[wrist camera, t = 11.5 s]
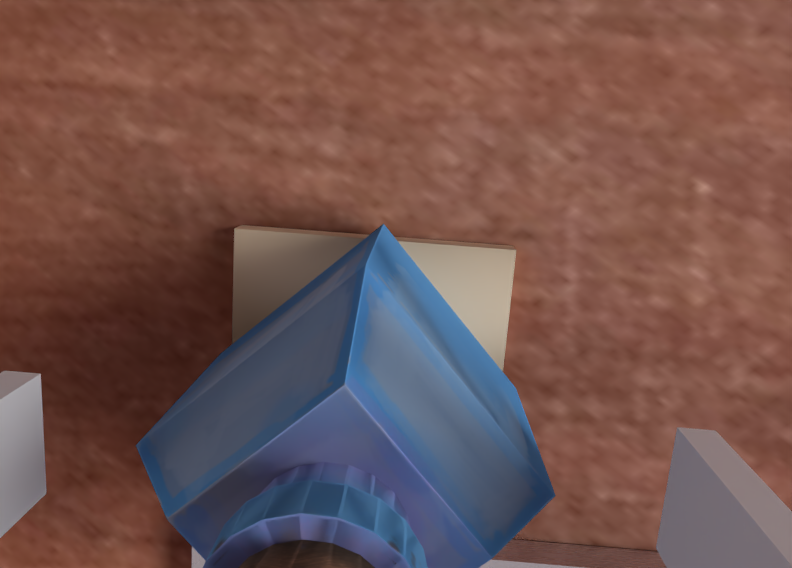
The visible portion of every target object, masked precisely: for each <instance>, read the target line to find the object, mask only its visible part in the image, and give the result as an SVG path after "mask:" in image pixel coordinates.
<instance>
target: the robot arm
mask: <svg viewBox="0 0 792 568" xmlns="http://www.w3.org/2000/svg"><path fill="white" fill-rule="evenodd" d="M45 494H46V473H45V452H44V431H43V411H42V390H41V374H39V373H27V372H15V371H3V372H1V373H0V538H1V537H2V536H3V535H4V534H5V533H6V532H7V531H8V530H9V529H10V528H11V527H12V526H13V525H14V524H15V523H16V522H17V521H18V520H19V519H21V518H22V517H23V516H24V515H25V514H26V513H27V512H28V511H29V510H30V509H31V508H32V507H33V506H34V505H35V504H36V503H37V502H38V501H39V500H40V499H41V498H42V497H43V496H44V495H45ZM656 549H657V551H658V552H659V554H660V556H661V558H662V560H663V562H664V564H665V565H666V567H667V568H792V511H791V510H790V509H789V508H788V507H787V506H786V505H785V504H784V503H783V502H782V501H781V500H780V499H779V497H778V496H777V495H776V494H775V493H774V492H773V491H772V490H771V489H770V488H769V487H768V486H767V485H766V484H765V483H764V482H763V480H762V479H761V478H760V477H759V476H758V475H757V474H756V473H755V472H754V471H753V470H752V469H751V468H750V467H749V466H748V465H747V463H746V462H745V461H744V460H743V459H742V458H741V457H740V456H739V455H738V454H737V453H736V452H735V451H734V450H733V449H732V448H731V447H730V445H729V444H728V443H727V442H726V441H725V440H724V439H723V438H722V437H721V436H720V435H719V434H718V433H717V432H716V431H714V430H702V429H690V428H679V427H677V432H676V438H675V443H674V449H673V455H672V460H671V466H670V472H669V477H668V483H667V489H666V494H665V500H664V506H663V511H662V517H661V523H660V528H659V534H658V540H657V545H656Z"/></svg>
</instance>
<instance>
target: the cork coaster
mask: <svg viewBox="0 0 792 568" xmlns="http://www.w3.org/2000/svg"><path fill="white" fill-rule="evenodd" d="M368 236H369V235H366V234H353V233H340V232H327V231H314V230H301V229H288V228H275V227H262V226H248V225H240V226H238V227H236V228H234V267H233V313H232V344H233V343H234V342H236V341H237V340H238V339H239V338H241V337H242V336H243V335H245V334H246V333H247V332H248V331H250V330H251V329H252V328H253V327H255V326H256V325H257V324H258V323H260V322H261V321H262V320H263V319H265V318H266V317H267V316H268V315H270V314H271V313H272V312H273V311H275V310H276V309H277V308H278V307H280V306H281V305H282V304H283V303H285V302H286V301H287V300H288V299H290V298H291V297H292V296H293V295H295V294H296V293H297V292H299V291H300V290H301V289H302V288H304V287H305V286H306V285H307V284H309V283H310V282H311V281H312V280H314V279H315V278H316V277H317V276H319V275H320V274H321V273H322V272H324V271H325V270H326V269H327V268H329V267H330V266H331V265H332V264H334V263H335V262H336V261H337V260H339V259H340V258H341V257H342V256H344V255H345V254H346V253H347V252H349V251H350V250H351V249H352V248H354V247H355V246H356V245H358V244H359V243H360V242H361V241H363V240H364V239H365V238H366V237H368ZM395 239H396V240H397V241H398V242H399V244H400V245H401V246H402V247H403V249H404V250H405V251H406V252H407V254H408V255H409V256H410V257H411V259H412V260H413V261H414V262H415V264H416V265H417V266H418V267H419V268H420V270H421V271H422V272H423V273H424V275H425V276H426V277H427V278H428V280H429V281H430V282H431V283H432V285H433V286H434V287H435V288H436V290H437V291H438V292H439V293H440V295H441V296H442V297H443V298H444V300H445V301H446V302H447V303H448V305H449V306H450V307H451V308H452V310H453V311H454V312H455V313H456V315H457V316H458V317H459V318H460V319H461V321H462V322H463V323H464V324H465V326H466V327H467V328H468V329H469V331H470V332H471V333H472V334H473V336H474V337H475V338H476V339H477V341H478V342H479V343H480V344H481V346H482V347H483V348H484V349H485V351H486V352H487V353H488V354H489V356H490V357H491V358H492V359H493V361H494V362H495V363H496V364H497V366H498V367H499V368H500V369H501V370H502V372H503V366H504V357H505V348H506V339H507V329H508V320H509V311H510V302H511V293H512V284H513V275H514V266H515V257H516V249H515V248H514V247H513V246H510V245H497V244H484V243H471V242H458V241H445V240H432V239H419V238H406V237H395Z"/></svg>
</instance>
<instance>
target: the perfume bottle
mask: <svg viewBox="0 0 792 568" xmlns="http://www.w3.org/2000/svg"><path fill="white" fill-rule="evenodd" d="M136 447H137V449H138V452H139V454H140V456H141V459H142V461H143V464H144V466H145V468H146V471H147V473H148V475H149V478H150V480H151V483H152V485H153V487H154V490H155V492H156V494H157V497H158V499H159V502H160V504H161V506H162V509H163V511H164V513H165V516H166V518H167V520H168V521H169V522H170V523H171V524H172V525H173V526H174V527H175V529H176V530H177V531H178V532H179V533H180V534H181V535H182V536H183V537H184V538H185V539H186V540H187V541H188V542H189V543H190V545H191V546H192V547H193V548H194V549H195V550H196V551H197V552H198V553H199V554H200V555H201V556H202V557H203V558H204V560H205V564H204V566H203V568H479V567H481V566H482V565H483V564H485V563H486V562H488V561H489V560H491V559H492V558H493V557H494V556H495V555H496V554H497V553H498V552H499V551H500V550H501V549H502V548H503V547H504V546H505V545H506V544H507V543H508V542H509V541H510V540H511V539H512V538H513V537H514V536H515V535H516V534H517V533H518V532H519V531H520V530H521V529H522V528H523V527H524V526H525V525H526V524H527V523H528V522H529V521H530V520H531V519H532V518H533V517H534V516H535V515H537V514H538V513H539V512H540V511H541V510H542V509H543V508H544V507H545V506H546V505H547V504H548V503H549V502H550V501H551V500H552V499H553V498H554V497H555V493H554V490H553V487H552V485H551V482H550V479H549V477H548V474H547V471H546V469H545V466H544V463H543V460H542V458H541V455H540V452H539V450H538V447H537V444H536V442H535V439H534V436H533V433H532V431H531V428H530V425H529V423H528V420H527V417H526V415H525V412H524V409H523V406H522V404H521V401H520V398H519V396H518V393H517V390H516V388H515V387H514V385H513V384H512V383H511V382H510V380H509V379H508V378H507V377H506V375H505V374H504V373H503V372H502V370H501V369H500V368H499V367H498V366H497V364H496V363H495V362H494V361H493V359H492V358H491V357H490V356H489V354H488V353H487V352H486V351H485V349H484V348H483V347H482V346H481V344H480V343H479V342H478V341H477V339H476V338H475V337H474V336H473V334H472V333H471V332H470V331H469V329H468V328H467V327H466V326H465V324H464V323H463V322H462V321H461V319H460V318H459V317H458V316H457V315H456V313H455V312H454V311H453V310H452V308H451V307H450V306H449V305H448V303H447V302H446V301H445V300H444V298H443V297H442V296H441V295H440V293H439V292H438V291H437V290H436V288H435V287H434V286H433V285H432V283H431V282H430V281H429V280H428V278H427V277H426V276H425V275H424V273H423V272H422V271H421V270H420V268H419V267H418V266H417V265H416V264H415V262H414V261H413V260H412V259H411V257H410V256H409V255H408V254H407V252H406V251H405V250H404V249H403V247H402V246H401V245H400V244H399V242H398V241H397V240H396V239H395V237H394V236H393V235H392V234H391V232H390V231H389V230H388V229H387V227H386V226H385V225H384V224H383V225H381V226H380V227H379V228H378V229H376V230H375V231H374V232H373V233H371V234H370V235H369V236H368V237H366V238H365V239H364V240H363V241H361V242H360V243H359V244H358V245H356V246H355V247H354V248H352V249H351V250H350V251H349V252H347V253H346V254H345V255H344V256H342V257H341V258H340V259H339V260H337V261H336V262H335V263H334V264H332V265H331V266H330V267H329V268H327V269H326V270H325V271H324V272H322V273H321V274H320V275H319V276H317V277H316V278H315V279H314V280H312V281H311V282H310V283H309V284H307V285H306V286H305V287H304V288H302V289H301V290H300V291H299V292H297V293H296V294H295V295H293V296H292V297H291V298H290V299H288V300H287V301H286V302H285V303H283V304H282V305H281V306H280V307H278V308H277V309H276V310H275V311H273V312H272V313H271V314H270V315H268V316H267V317H266V318H265V319H263V320H262V321H261V322H260V323H258V324H257V325H256V326H255V327H253V328H252V329H251V330H250V331H248V332H247V333H246V334H245V335H243V336H242V337H241V338H239V339H238V340H237V341H236V342H234V343H233V344H232V345H231V346H229V347H228V348H227V349H226V350H224V351H223V352H222V353H221V354H220V355H219V356H218V357H217V358H216V359H215V360H214V361H213V362H212V363H211V365H210V366H209V367H208V368H207V369H206V370H205V371H204V372H203V373H202V374H201V375H200V376H199V378H198V379H197V380H196V381H195V382H194V383H193V384H192V385H191V386H190V387H189V388H188V389H187V391H186V392H185V393H184V394H183V395H182V396H181V397H180V398H179V399H178V400H177V401H176V402H175V404H174V405H173V406H172V407H171V408H170V409H169V410H168V411H167V412H166V413H165V414H164V415H163V417H162V418H161V419H160V420H159V421H158V422H157V423H156V424H155V425H154V426H153V427H152V428H151V430H150V431H149V432H148V433H147V434H146V435H145V436H144V437H143V438H142V439H141V440H140V441H139V443H138V444H137V445H136Z"/></svg>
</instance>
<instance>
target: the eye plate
mask: <svg viewBox="0 0 792 568" xmlns="http://www.w3.org/2000/svg"><path fill="white" fill-rule="evenodd" d="M204 564H205V560H204V558H203V557H202V556H201V555H200V554H199V553H198V552H197V551H196V550H195V549H194V548H193V547H192V568H203V566H204ZM479 568H667V567H666V565H665V564H664V562H663V560H662V558H661V556H660V554H659V552H656V551H644V550H632V549H620V548H609V547H597V546H585V545H574V544H562V543H550V542H538V541H527V540H515V539H511V540H510V541H509V542H508V543H507V544H506V545H505V546H504V547H503V548H502V549H501V550H500V551H499V552H498V553H497V554H496V555H495V556H494V557H493V558H492V559H491V560H489V561H488V562H486V563H485V564H483V565H482V566H481V567H479Z"/></svg>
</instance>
